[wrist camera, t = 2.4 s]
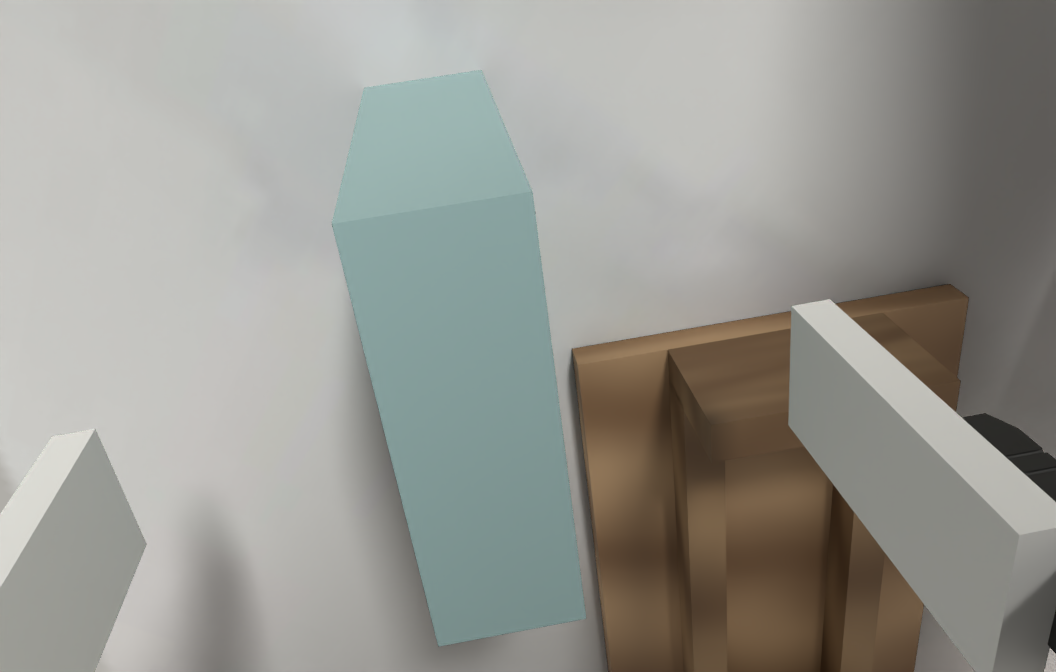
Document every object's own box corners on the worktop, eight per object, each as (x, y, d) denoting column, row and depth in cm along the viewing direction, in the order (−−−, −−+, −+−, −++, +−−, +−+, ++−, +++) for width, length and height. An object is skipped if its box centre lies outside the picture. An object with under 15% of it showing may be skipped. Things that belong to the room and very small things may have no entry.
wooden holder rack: (572, 348, 25) (606, 443, 21) (950, 284, 26) (1060, 363, 21) (613, 713, 33) (644, 837, 29) (900, 657, 34) (972, 770, 30)
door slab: (364, 87, 21) (331, 223, 12) (481, 69, 21) (532, 191, 12) (428, 386, 25) (438, 646, 16) (525, 370, 25) (586, 618, 17)
